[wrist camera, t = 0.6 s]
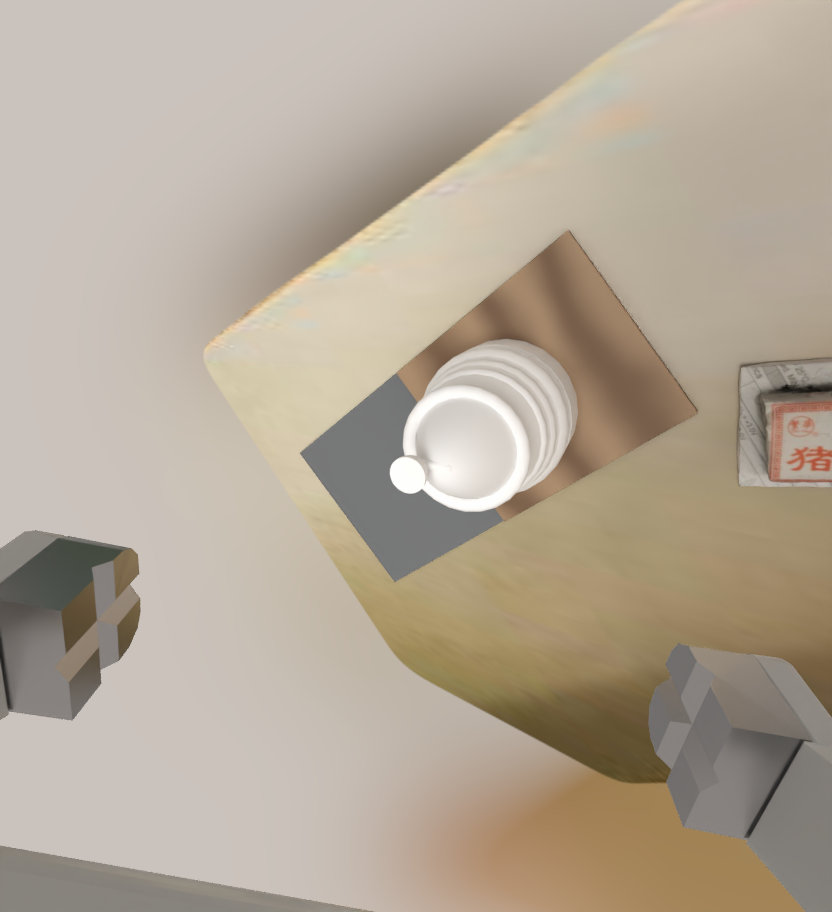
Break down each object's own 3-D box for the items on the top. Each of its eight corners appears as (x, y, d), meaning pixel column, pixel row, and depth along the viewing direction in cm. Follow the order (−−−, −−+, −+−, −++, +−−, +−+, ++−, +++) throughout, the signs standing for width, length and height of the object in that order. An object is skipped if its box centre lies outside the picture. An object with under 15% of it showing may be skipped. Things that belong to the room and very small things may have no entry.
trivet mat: (398, 371, 57) (397, 371, 57) (505, 518, 57) (505, 519, 57) (300, 452, 65) (299, 453, 65) (395, 580, 66) (394, 581, 65)
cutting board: (569, 230, 47) (567, 230, 46) (697, 411, 47) (697, 413, 47) (398, 371, 57) (396, 373, 56) (506, 519, 57) (504, 521, 57)
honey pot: (442, 468, 58) (355, 551, 42) (438, 338, 54) (339, 377, 38) (575, 481, 53) (531, 581, 37) (581, 339, 49) (535, 384, 33)
